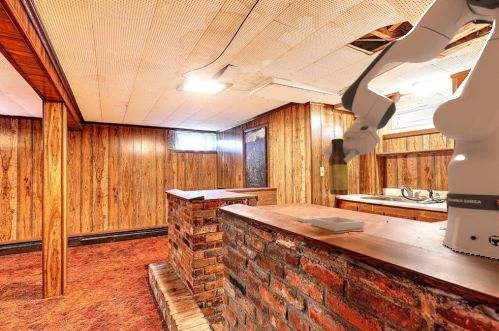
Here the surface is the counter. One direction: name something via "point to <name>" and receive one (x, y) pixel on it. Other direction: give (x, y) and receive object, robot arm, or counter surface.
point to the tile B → (304, 219)
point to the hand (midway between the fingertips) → (336, 162)
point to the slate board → (300, 221)
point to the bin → (338, 224)
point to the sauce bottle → (338, 169)
